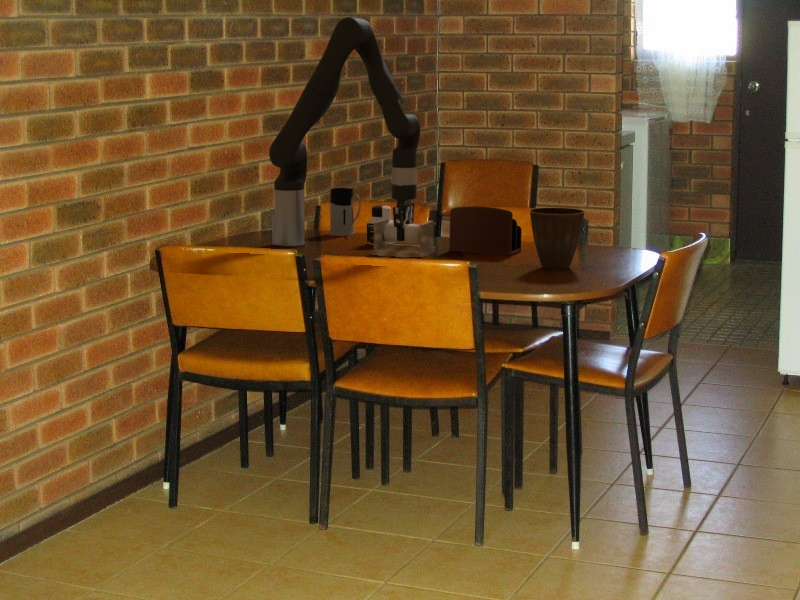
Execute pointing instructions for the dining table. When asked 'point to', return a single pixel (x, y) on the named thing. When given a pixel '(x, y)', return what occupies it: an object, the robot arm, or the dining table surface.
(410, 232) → the paper roll
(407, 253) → the roll holder
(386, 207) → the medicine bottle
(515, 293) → the dining table surface
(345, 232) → the glass holder
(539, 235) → the plant pot
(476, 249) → the letter holder
